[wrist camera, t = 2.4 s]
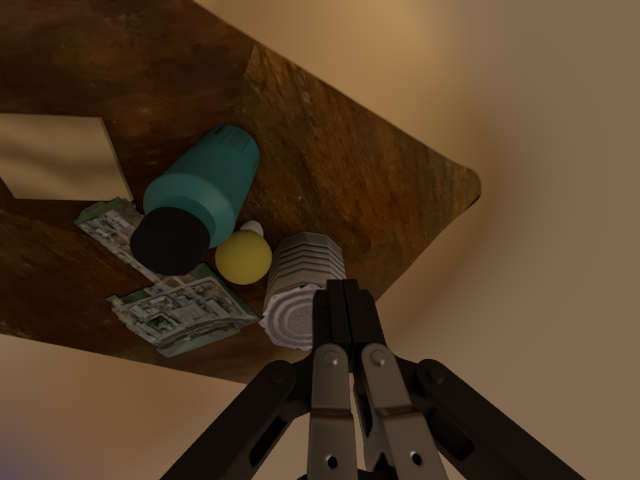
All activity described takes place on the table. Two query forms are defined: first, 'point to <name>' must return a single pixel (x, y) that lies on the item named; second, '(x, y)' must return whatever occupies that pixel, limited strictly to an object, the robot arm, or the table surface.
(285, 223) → the table surface
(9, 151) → the mat
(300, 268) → the can
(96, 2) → the table surface
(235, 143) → the beverage bottle
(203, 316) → the model
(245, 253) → the light bulb
